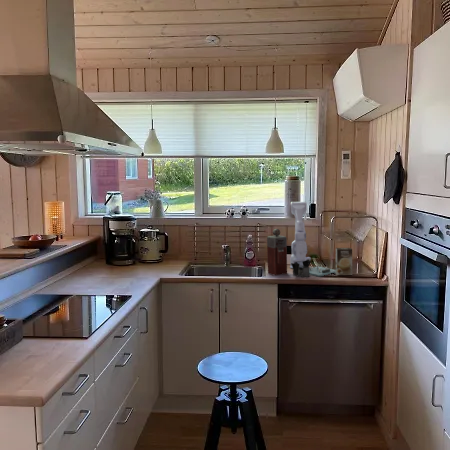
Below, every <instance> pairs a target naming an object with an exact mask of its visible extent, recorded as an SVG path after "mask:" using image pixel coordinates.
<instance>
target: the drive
mask: <svg viewBox="0 0 450 450" xmlns="http://www.w3.org/2000/svg"><path fill="white" fill-rule="evenodd" d="M309 268H310V266H309V267H306V266H301V265H299V269H298V275H296V274H295V272H294V269H293V268H292V275H293V276H296V277H300V278H310V274H309Z"/></svg>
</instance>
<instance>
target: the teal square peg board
mask: <svg viewBox="0 0 450 450" xmlns="http://www.w3.org/2000/svg"><path fill="white" fill-rule="evenodd" d="M331 273H334V274H336V269H332V268H329V267H328V266H325V267H322V266H319V264H316V266H315V267H314V266H313V267H312V266H311V265H309V274H310V275H311V276H314V277H325V276H328V274H329V275H332V274H331ZM324 275H325V276H324Z"/></svg>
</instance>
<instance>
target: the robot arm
mask: <svg viewBox="0 0 450 450" xmlns="http://www.w3.org/2000/svg"><path fill="white" fill-rule="evenodd" d="M307 206H308V205H307V201H291V202H290V213H291V215H294V219H295V220H294V221H295V223H294V226H295V227H294V240H293V241H292V242H291V256H290V259H289V260H290V261H289V262H290V263H289V265H290V266H289V268H290V269H292V270H293V269H294V272H295V274H296V275H298V269H299V265H301V266H306V267H309V268H310V266H311V263H312V262H311V257H310V256H307V254H308V247H307V242H306V241H307V231H306V229H305V227H306V226H305V222H304V221H303V215H305V214H306V213H307V211H308V210H307Z"/></svg>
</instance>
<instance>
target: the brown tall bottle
mask: <svg viewBox="0 0 450 450" xmlns="http://www.w3.org/2000/svg"><path fill="white" fill-rule="evenodd" d="M287 239H288V238H287V237H286V236H285V235H281V230H280V229H279V228H275V229H273V230H272V235H267V237H266V246H267V247H266V249H267V252H266V253H267V273H268V274H270V275H274V276H280V275H286V274H288V252H287V251H288V250H287V248H288V247H287V244H288V243H287Z"/></svg>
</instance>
